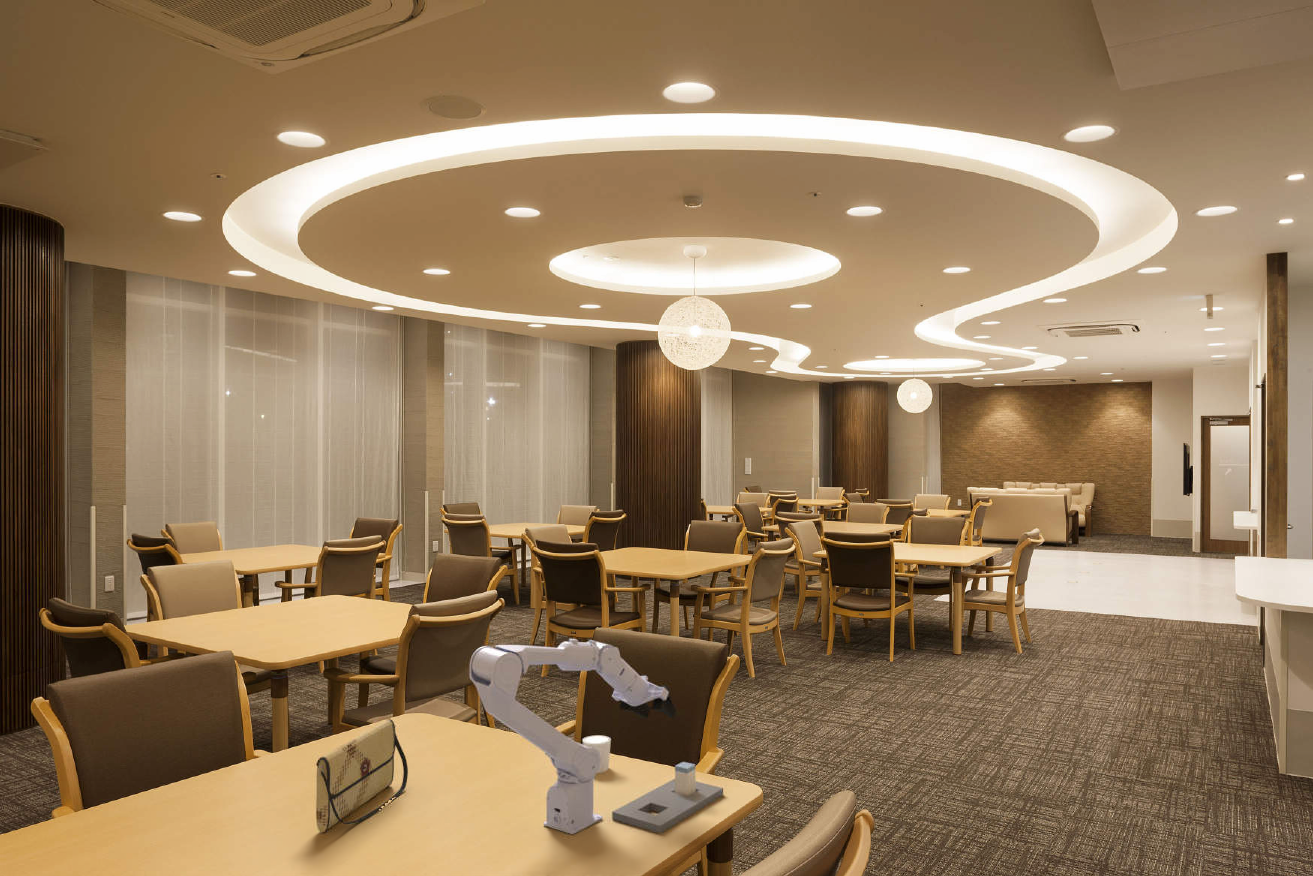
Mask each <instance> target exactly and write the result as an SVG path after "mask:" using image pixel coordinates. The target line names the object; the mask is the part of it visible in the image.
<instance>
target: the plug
mask: <svg viewBox="0 0 1313 876" xmlns="http://www.w3.org/2000/svg"><path fill="white" fill-rule="evenodd" d="M674 779H675V793H677V794H681V795H685V796H690V795H692V794H693V793H695V792H696V784H695V781H696V764H695V763H690V762H686V761H682V762H680V763H678V764H676V765H674Z"/></svg>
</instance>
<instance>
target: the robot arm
mask: <svg viewBox="0 0 1313 876" xmlns="http://www.w3.org/2000/svg"><path fill="white" fill-rule="evenodd" d="M494 647H495V648H494ZM494 647H493V646H489V645H484V646H481V647H478V648H477V649H476V650H475V651H474V652H473V654H472V655H471V658H470V660H469V675H468V676H469V679H470V681H471V682H472V683H473V684H474V686H475V688H476V690H477V693H478V695H479V698H480V700H481V703H482V705H483V708H484V710H485V712H487V714H488V715H491V717H494V719H496V720H498V721H499V722H500V723H502V724H503V725H505V726H507V727H508V728H509V729H511V730H513V732H515V733H516V734H518V735H519V736H521V737H522V738H523V739H525V740H526V741H528V742H529V743H531V744H532V745H534V746H535V747H537V748H538V749H539V750H541V751H543V752H544V755H545V756H547V757H548V758H549V759H550V761H551V764H552V766H553V767H554V768H555V769H556V775H557V779H556V781H555V783H554V784H553V785H552V786H550V787H549V788H548V790H547V793H546V821H544V822H543V826H545V827H549V828H551V829H555V830H558V831H561V832H564V833H566V834H569V835H574V834H576V833H578V832H580V831H582V830H584V829H585V828H588V827H589V826H591V825H593V824H595V823H596V822H599V821H601V820H602V819H603V815H600V814H596V813H594V780H595V779H596V775H597V774H598V773H597V772H598V770H599V768H600V764H601V757H600V754H599V752H598V751H597V750H596V749H594V748H591V747H587V746H585V745H583V743H580V742H577V741H575V740H573V739H572V738H570V737H568V736H566V735H565V734H564V733H562V732H561V731H559V730H558V729H557V728H555V727H554V726H553V725H551V724H550V723H549V722H547V721H546V720H544V719H543V718H541V717H540V716H538V715H537V714H536V713H534V712H533V711H531V710H530V709H529V708H527V707H526V706H525V705H523V704H522V703H521V702H519V701H518V700H516V695H517V692H518V689H519V685H520V681H521V677H522V674H524V675H525V674H526V673H527V672H528V669H529V666H538V665H539V666H540V665H541V666H543V665H546V666H547V665H556V666H557V667H558V668H559V669H560V670H561V671H565V672H566V671H567V672H568V671H569V672H572V671H573V672H577V671H578V672H588V671H589V672H590V671H593V670H594V671H595V672H596V673H597V674H598V675H600V677H601V678H603V680H604V681H605V682H607V684H608V685H609V686H610V687H612V688H613V693H612V695H611V697H612V698H613V699H614V700H615V701H616V702H620V704H619V709H620V710H621V711H626V712H630V713H633V714H635V715H637V716H639V717H641V718H643V719H649V715H650V712H651V710H653V711H654V710H655V711H658V712H660V713H662V714H664V715H665V716H666V717H667V718H669V719H675V716H676V714H677V708H676V707H675V705H674V702H673V700H672V698H671V697H672V696H671V692H670V688H669V687H668V686H667V685H661V686H658V685H656V684H654V683H652V682H650V681H648V680H649V677H648V676H647V675H639V673H638V672H637V671H635V669H634V668H632V667H631V666H630V664H629V663H627V662H626V661H625V660H624V658H622V657H621V654H620V650H619V647H617V646H613V644H608V643H605V642H599V641H596V640H591V639H589V640H588V641H586V642H585V641H584V642H582V641H579V640H578V639H576V638H569V639H568V641H562V642H561V643H560V644H559V645H558V647H553V646H552V647H550V646H536V645H523V644H522V645H521V644H497V645H494ZM651 701H652V704H651V705H652V706H651V708H650V706H648V704H647V703H648V702H651Z"/></svg>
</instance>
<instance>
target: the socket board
mask: <svg viewBox="0 0 1313 876" xmlns="http://www.w3.org/2000/svg"><path fill="white" fill-rule="evenodd" d="M695 784H696V792H695V793H693V794H692V795H690V796H685V795H681V794H677V793H675V778H673V779H672V780H669V781H668V782H666V783H664V784H662V785H660V786H658V787H656V788H654V789H653V790H651V791H649V792H647V793H644V794H643V795H641V796H639V797H637V798H635V799H634V800H631V801H630V802H628V803H627V804H625V805H622V806H620V807H618V808H616V809H615V810H614V811H611V813H612V814H611V819H612V820H613V821H616V822H620V823H624V824H627V825H629V826H634V827H637V828H640V829H643V830H647V831H650V832H653V833H656V834H657V833H658V834H662V833H664V832H665V831H667V830H669V829H671V827H673V826H675V825H677V824H678V823H680V822H682V821H683V820H686V818H688V817H690V816H692V815H693V814H695V813H696V812H698V811H700V810H702V809H703V808H704V807H706V806H707V805H708V806H709V804H711V803H713V802H715V801H716V800H718V799H720V798H721V797H722V796H724V788H723V787H721V786H720V787H719V786H716V785H712V784H708V783H704V782H700V781H696V780H695ZM650 811H653V812H657V813H656V814H653V813H649V812H650Z"/></svg>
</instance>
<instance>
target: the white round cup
mask: <svg viewBox="0 0 1313 876" xmlns="http://www.w3.org/2000/svg"><path fill="white" fill-rule="evenodd" d="M611 742H612V739H611V737H609V736H606V735H599V734H598V735H590V736H586V737H584V738H582V745H585V746H587V747H591V748H594V749H596V750H597V751H598V752H599V754H600V757H601V764H600V768H599V770H598V772H597V774H599V773H601V774H602V773H605V772H607V771H608V770H609V768H610V767H609V766H610V753H611V744H612V743H611Z"/></svg>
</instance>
